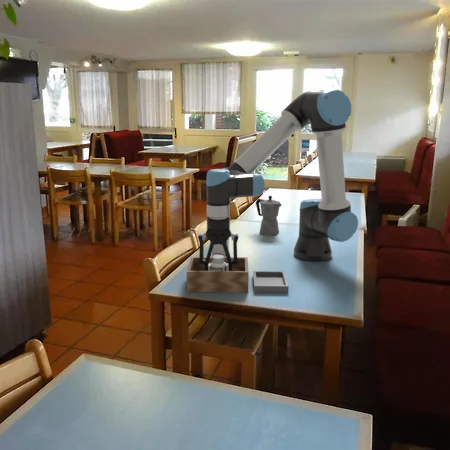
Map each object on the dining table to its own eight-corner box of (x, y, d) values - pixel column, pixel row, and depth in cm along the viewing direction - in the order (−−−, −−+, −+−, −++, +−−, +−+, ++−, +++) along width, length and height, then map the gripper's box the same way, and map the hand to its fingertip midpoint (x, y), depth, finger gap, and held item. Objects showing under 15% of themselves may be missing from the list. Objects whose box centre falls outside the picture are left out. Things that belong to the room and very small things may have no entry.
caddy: (247, 275, 164) (247, 257, 162) (248, 292, 149) (248, 272, 148) (191, 275, 164) (191, 256, 163) (186, 291, 150) (186, 271, 148)
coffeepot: (286, 233, 218) (287, 196, 213) (273, 237, 211) (274, 199, 207) (261, 227, 228) (262, 192, 224) (249, 231, 222) (249, 194, 217)
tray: (284, 277, 163) (284, 271, 162) (288, 292, 149) (288, 286, 148) (252, 277, 163) (253, 270, 162) (254, 292, 149) (254, 285, 149)
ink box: (224, 269, 170) (224, 238, 167) (211, 268, 171) (211, 238, 168) (228, 262, 178) (229, 232, 175) (216, 261, 179) (216, 232, 176)
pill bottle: (218, 279, 161) (218, 253, 158) (229, 283, 157) (229, 256, 154) (207, 283, 157) (207, 256, 154) (218, 287, 153) (218, 260, 151)
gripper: (246, 214, 154) (245, 279, 160) (191, 213, 155) (192, 278, 161) (246, 219, 147) (245, 287, 153) (189, 219, 147) (190, 286, 153)
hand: (218, 282), depth 157 cm, fingers closed on pill bottle, 5 cm apart
